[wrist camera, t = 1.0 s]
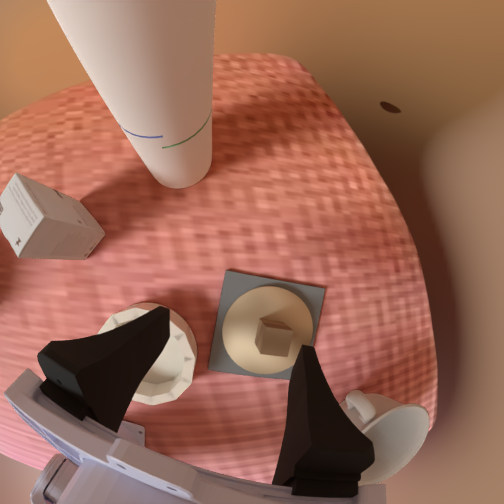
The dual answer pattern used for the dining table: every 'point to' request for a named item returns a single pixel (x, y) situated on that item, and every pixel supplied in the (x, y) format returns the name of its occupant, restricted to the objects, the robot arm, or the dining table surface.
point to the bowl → (162, 356)
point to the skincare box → (46, 222)
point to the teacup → (387, 431)
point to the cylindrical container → (151, 76)
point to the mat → (235, 288)
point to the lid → (266, 329)
